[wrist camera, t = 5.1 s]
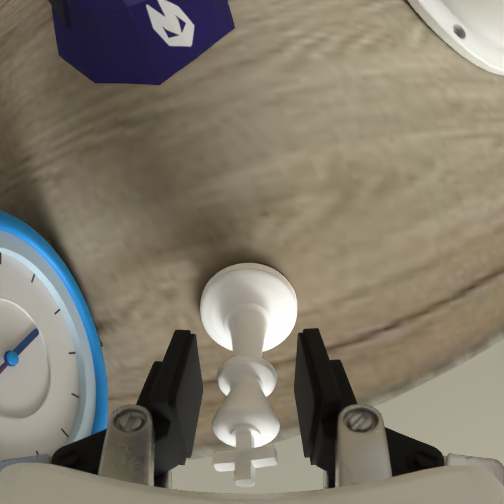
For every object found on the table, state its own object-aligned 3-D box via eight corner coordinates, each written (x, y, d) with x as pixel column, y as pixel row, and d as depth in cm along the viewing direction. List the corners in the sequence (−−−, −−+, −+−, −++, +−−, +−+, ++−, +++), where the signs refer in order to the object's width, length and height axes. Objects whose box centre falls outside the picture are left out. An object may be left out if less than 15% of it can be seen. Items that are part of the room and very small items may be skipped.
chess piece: (187, 275, 15) (113, 433, 6) (285, 251, 15) (334, 406, 5) (217, 354, 17) (192, 517, 7) (304, 336, 16) (344, 500, 7)
